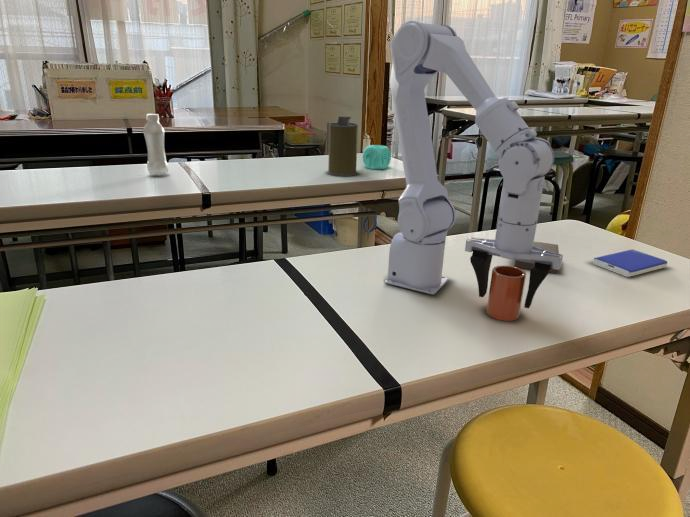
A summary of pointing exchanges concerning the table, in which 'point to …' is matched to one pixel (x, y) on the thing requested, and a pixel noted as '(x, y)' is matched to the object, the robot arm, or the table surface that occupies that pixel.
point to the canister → (342, 147)
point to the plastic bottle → (155, 146)
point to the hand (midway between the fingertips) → (504, 300)
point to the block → (542, 246)
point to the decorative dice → (376, 157)
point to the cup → (506, 292)
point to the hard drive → (630, 262)
